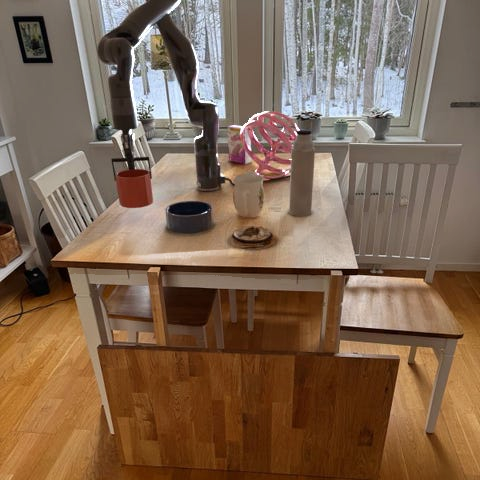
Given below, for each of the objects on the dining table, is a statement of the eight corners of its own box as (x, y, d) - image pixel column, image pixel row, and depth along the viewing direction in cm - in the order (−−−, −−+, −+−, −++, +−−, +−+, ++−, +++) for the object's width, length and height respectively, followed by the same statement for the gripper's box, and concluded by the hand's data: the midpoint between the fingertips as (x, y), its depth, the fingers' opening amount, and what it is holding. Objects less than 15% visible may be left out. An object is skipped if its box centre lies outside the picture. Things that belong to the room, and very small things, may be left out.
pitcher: (228, 224, 162) (227, 184, 154) (237, 207, 177) (236, 170, 169) (260, 226, 160) (260, 185, 153) (266, 208, 175) (267, 170, 168)
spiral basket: (255, 141, 182) (291, 91, 188) (214, 147, 204) (248, 103, 210) (292, 192, 199) (324, 145, 205) (251, 193, 220) (281, 150, 226)
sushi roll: (244, 253, 141) (243, 240, 139) (221, 237, 152) (220, 225, 150) (285, 242, 147) (285, 230, 145) (260, 228, 158) (260, 216, 156)
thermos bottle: (292, 207, 175) (295, 127, 160) (313, 209, 173) (318, 128, 158) (286, 215, 169) (289, 132, 153) (308, 217, 166) (313, 133, 151)
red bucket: (120, 198, 166) (113, 154, 158) (155, 196, 167) (149, 152, 159) (117, 209, 157) (109, 162, 149) (154, 206, 158) (148, 160, 150)
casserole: (202, 215, 170) (201, 198, 166) (220, 229, 158) (219, 211, 154) (161, 223, 164) (159, 205, 161) (176, 238, 152) (174, 219, 149)
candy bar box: (228, 161, 235) (226, 126, 226) (234, 159, 238) (233, 124, 229) (245, 164, 229) (244, 128, 220) (251, 162, 232) (251, 127, 223)
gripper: (134, 115, 141) (142, 173, 150) (137, 108, 153) (144, 163, 162) (109, 116, 140) (118, 175, 150) (114, 109, 152) (122, 164, 161)
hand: (132, 168), depth 156 cm, fingers closed on red bucket, 1 cm apart
